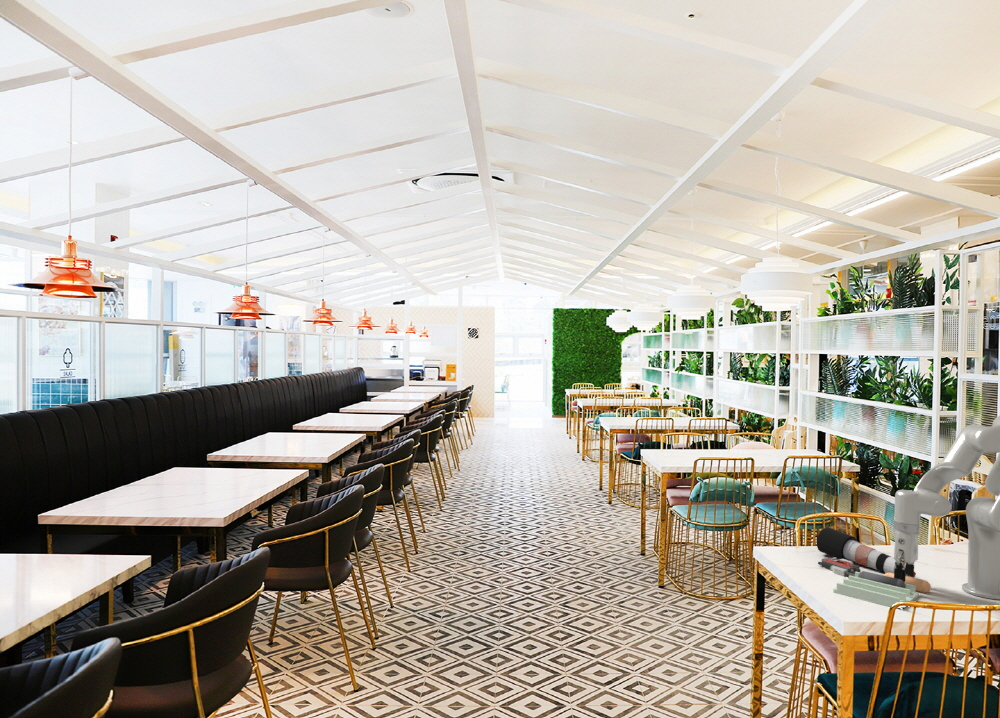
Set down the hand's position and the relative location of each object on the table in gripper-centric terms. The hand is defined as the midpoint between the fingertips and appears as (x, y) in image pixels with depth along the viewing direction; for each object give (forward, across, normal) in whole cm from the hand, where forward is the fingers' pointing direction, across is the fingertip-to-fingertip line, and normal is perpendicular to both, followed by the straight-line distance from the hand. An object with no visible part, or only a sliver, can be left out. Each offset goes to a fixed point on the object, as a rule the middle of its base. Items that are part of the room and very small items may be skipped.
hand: (903, 578), depth 218 cm
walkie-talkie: (+4, +2, +18) cm, 19 cm away
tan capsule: (+1, +1, -1) cm, 2 cm away
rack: (+4, -14, +4) cm, 15 cm away
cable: (+4, +15, +16) cm, 22 cm away
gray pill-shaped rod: (+1, -8, +4) cm, 10 cm away
